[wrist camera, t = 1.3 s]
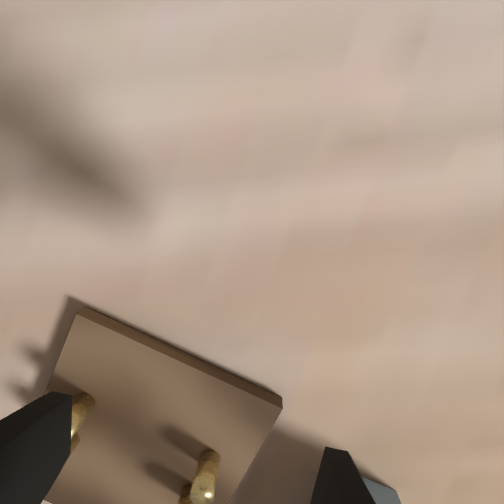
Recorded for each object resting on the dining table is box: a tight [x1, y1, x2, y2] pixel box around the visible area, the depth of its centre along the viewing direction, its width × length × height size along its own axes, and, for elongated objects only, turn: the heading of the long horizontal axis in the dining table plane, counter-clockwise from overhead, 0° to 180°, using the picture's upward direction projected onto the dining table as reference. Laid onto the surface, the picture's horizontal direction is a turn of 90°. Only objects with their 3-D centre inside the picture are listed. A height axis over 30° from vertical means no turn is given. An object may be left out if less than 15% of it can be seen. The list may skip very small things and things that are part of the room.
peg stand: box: [43, 307, 283, 504], centre depth 20 cm, size 12×12×4 cm
